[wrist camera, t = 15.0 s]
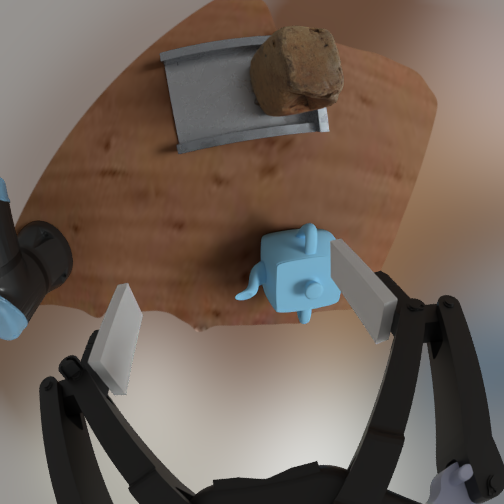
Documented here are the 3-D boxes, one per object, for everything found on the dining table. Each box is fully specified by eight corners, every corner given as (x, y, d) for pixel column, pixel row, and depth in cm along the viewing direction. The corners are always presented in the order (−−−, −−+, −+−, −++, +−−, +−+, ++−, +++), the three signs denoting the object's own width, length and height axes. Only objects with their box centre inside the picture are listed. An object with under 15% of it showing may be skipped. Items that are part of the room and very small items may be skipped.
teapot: (300, 196, 50) (328, 223, 38) (344, 252, 57) (374, 286, 45) (228, 259, 54) (234, 302, 42) (279, 304, 61) (295, 347, 49)
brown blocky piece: (245, 60, 37) (271, 20, 19) (288, 55, 37) (340, 21, 19) (256, 119, 42) (290, 118, 24) (299, 113, 42) (357, 113, 25)
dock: (181, 151, 43) (173, 159, 34) (164, 58, 35) (152, 44, 26) (321, 128, 44) (347, 132, 35) (308, 41, 36) (331, 26, 27)
